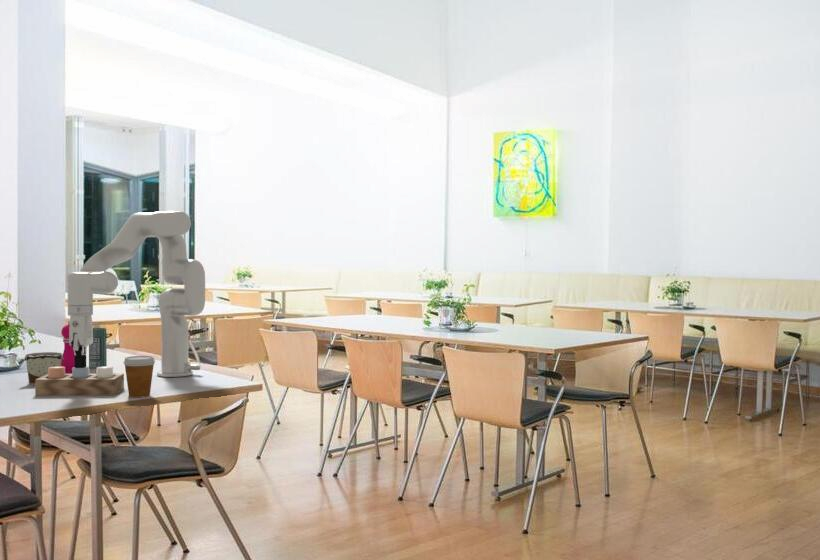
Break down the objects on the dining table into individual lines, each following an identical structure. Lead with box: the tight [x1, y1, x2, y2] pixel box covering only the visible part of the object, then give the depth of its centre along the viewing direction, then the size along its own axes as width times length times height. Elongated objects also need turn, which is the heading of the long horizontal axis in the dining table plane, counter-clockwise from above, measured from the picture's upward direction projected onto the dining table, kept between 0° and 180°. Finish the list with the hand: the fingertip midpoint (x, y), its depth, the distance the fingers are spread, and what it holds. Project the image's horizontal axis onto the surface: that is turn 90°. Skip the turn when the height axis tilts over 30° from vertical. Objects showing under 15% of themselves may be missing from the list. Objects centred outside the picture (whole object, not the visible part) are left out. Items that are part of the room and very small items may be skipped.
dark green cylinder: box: [88, 327, 108, 369], centre depth 319 cm, size 6×6×15 cm
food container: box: [23, 351, 64, 385], centre depth 283 cm, size 12×6×10 cm, turn 111°
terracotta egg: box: [48, 367, 65, 378], centre depth 264 cm, size 5×5×6 cm
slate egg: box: [72, 366, 90, 378], centre depth 265 cm, size 5×5×6 cm
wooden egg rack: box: [34, 373, 125, 396], centre depth 265 cm, size 24×12×5 cm, turn 95°
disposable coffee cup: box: [122, 355, 156, 398], centre depth 260 cm, size 10×10×12 cm
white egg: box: [95, 366, 114, 378], centre depth 266 cm, size 5×5×6 cm
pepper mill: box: [60, 319, 75, 374], centre depth 298 cm, size 7×7×20 cm
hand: (80, 367), depth 265 cm, fingers closed
